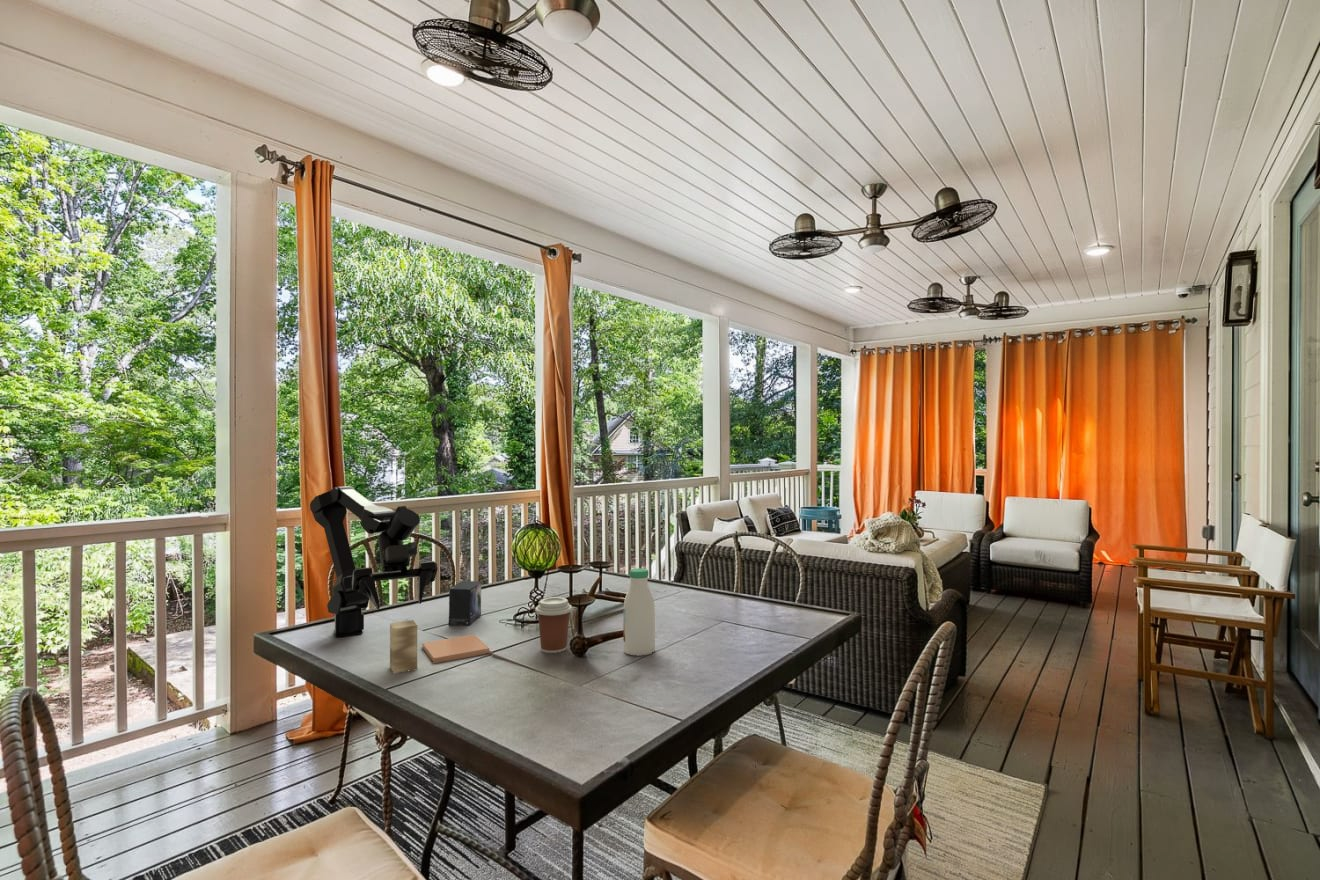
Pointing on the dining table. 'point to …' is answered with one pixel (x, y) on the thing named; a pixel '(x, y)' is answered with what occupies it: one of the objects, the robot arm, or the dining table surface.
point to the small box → (464, 602)
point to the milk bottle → (639, 615)
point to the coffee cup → (553, 623)
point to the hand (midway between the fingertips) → (399, 605)
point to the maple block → (403, 646)
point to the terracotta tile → (454, 648)
